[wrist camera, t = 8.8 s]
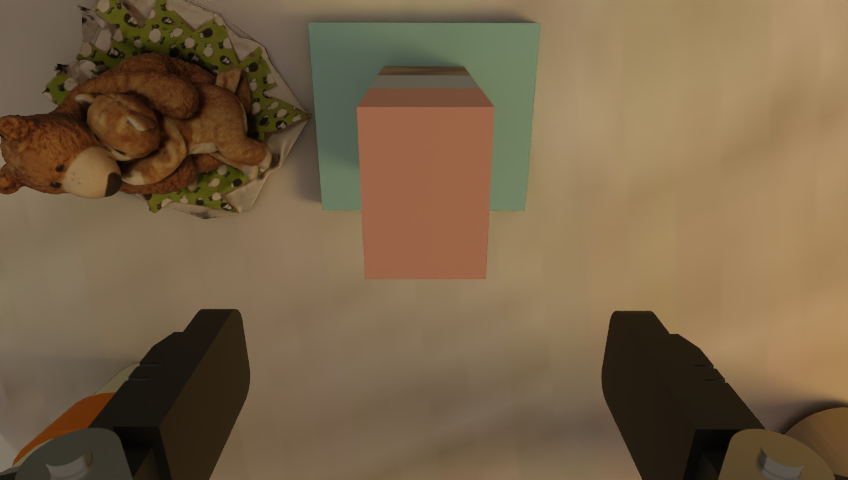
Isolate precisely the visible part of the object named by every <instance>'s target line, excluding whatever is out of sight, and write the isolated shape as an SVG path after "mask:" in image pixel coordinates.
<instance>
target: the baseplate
mask: <svg viewBox="0 0 848 480" xmlns="http://www.w3.org/2000/svg"><path fill="white" fill-rule="evenodd" d="M308 30H309V43H310V56H311V69H312V82H313V95H314V108H315V121H316V134H317V147H318V160H319V173H320V186H321V199H322V210H362V205H361V184H360V164H359V144H358V124H357V106H358V105H359V103H360V102H361V100H362V99H363V97H364V96H365V94H366V93H367V91H368V90H369V86H370V85H371V84H372V82H373V81H374V79H375V78H376V77H377V75H378V74H379V72H380V71H381V69H382V68H383V67H384V66H464V67H465V68H466V69H467V71H468V72H469V74H470V75H471V76H472V78H473V79H474V81H475V82H476V83H477V85H478V86H479V87H480V88H481V89H482V91H483V92H484V93H485V95H486V96H487V97H488V99H489V100H490V102H491V103H492V104H493V106H494V107H495V108H494V127H493V147H492V166H491V186H490V205H489V210H511V211H525V204H526V192H527V179H528V167H529V155H530V143H531V131H532V119H533V107H534V95H535V82H536V70H537V58H538V46H539V34H540V23H433V22H308Z"/></svg>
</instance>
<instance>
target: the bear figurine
mask: <svg viewBox="0 0 848 480" xmlns="http://www.w3.org/2000/svg"><path fill="white" fill-rule="evenodd" d="M78 7H79V8H80V9H81V11H82V27H83V40H82V41H83V43H82V47H81V52H80V53H79V54H78V55H77V58H76V59H77V60H78V61H77V62H74V63H72V64H70V65H62V64H57V66H58V67H55V69H56V70H54V71H57V72H56V73H57V75H56V76H55V77H54V78H53V79H52V80H51V81H50V82H49V83H48V84H47V85H46V89H45V91H44V92H43V95H45V96H46V97H47V98H49V99H50V100H51V101H52V102H53V103H55V104H57V105H58V107H57V108H56V109H55V110H53V111H52V112H50V113H48V114H36V115H31V116H20V115H16V116H15V115H8V116H4V117H1V118H0V136H1V144H0V147H1V151H2V156H3V157H4V160H5V162H6V164H5V165H4V166H3V167H2V168H1V170H0V193H2V194H12V193H14V192H16V191H18V189H19V188H20V187H22V186H27V187H29V188H31V189H35V190H37V191H40V192H43V193H49V194H61V193H71V194H73V195H76V196H79V197H84V198H90V199H96V198H102V197H107V196H112V195H114V194H115V193H116V192H117V191H122V192H125V193H128V194H134V195H136V196H137V197H138V198H140V199H141V200H143V201H144V202H147V204H148V206H149V210H150V211H151V212H153V213H156V212H158V211H159V210H160V209H161V208H162V207H170V208H173V209H176V210H179V211H182V212H185V213H188V214H191V215H194V216H197V217H200V218H202V219H209V218H215V217H222V216H229V215H236V214H240V212H241V211H249V210H250V209H251V207H252V205H253V203H254V201H255V199H256V198H257V196H258V194H259V192H260V190H261V188H262V186H263V184H264V183H265V181H266V179H267V177H268V175H269V174H270V173H271V172H273V171H275V170H276V169H279V168H281V166H282V164H283V162H284V161H285V159H286V157H287V156H288V154H289V152H290V150H291V149H292V147H293V145H294V144H295V142H296V140H297V138H298V137H299V135H300V133H301V131H302V130H303V128H304V126H305V125H306V123H307V121H308V119H309V118H310V117H311V116H312V114H308V113H307V112H306V111H305V110H306V109H305V110H304V109H303V108H302V107H301V106H300V103H299V102H298V100H297V99H296V98H295V96H294V95H293V93H292V92H291V91H290V89H289V88H288V86H287V85H286V84H285V82H284V81H283V79H282V78H281V77H280V75H279V74H278V72H277V71H276V70H275V68H274V67H273V65H272V64H271V63H270V60H269V58H268V55H267V52H266V49H265V48H264V47H263V46H262V45H260V44H259V43H258V42H256V41H255V40H254V39H252V38H251V37H250V36H249V37H250V38H251V39H252V40H254V41H252V40H250V39H245V38H240V37H239V36H237V35H236V34H235V33H234V32H232V31H231V30H230V29H229V28H228V27H227V26H226V24H225V23H224V21H223V18H222V16H220V15H219V14H218V13H213V12H210V11H207V10H204V9H202V8H200V7H198V6H196V5H194V4H191V3H189V2H187V1H185V0H98V2H97V3H96V5H95V6H94V7H93V8H92V10H90V9H87V8H84V7H81V6H79V5H78ZM99 25H100V26H101V28H102V30H101V31H100V33H99V35H98V38H97V41H96V44H95V46H94V45H93V44H91V43H90V41H91V39H92V38H93V36H94V34H95V32H96V30H97V28H98V26H99ZM233 25H234V24H233ZM237 28H238V27H237ZM238 29H239V28H238ZM241 31H242V30H241ZM242 32H243V31H242ZM243 33H244V32H243ZM245 34H246V33H245ZM246 35H247V34H246ZM247 36H248V35H247ZM80 60H86V62H85V63H82V64H80V65H79V61H80ZM258 62H261V63H260V64H259V63H258ZM308 111H309V110H308Z"/></svg>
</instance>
